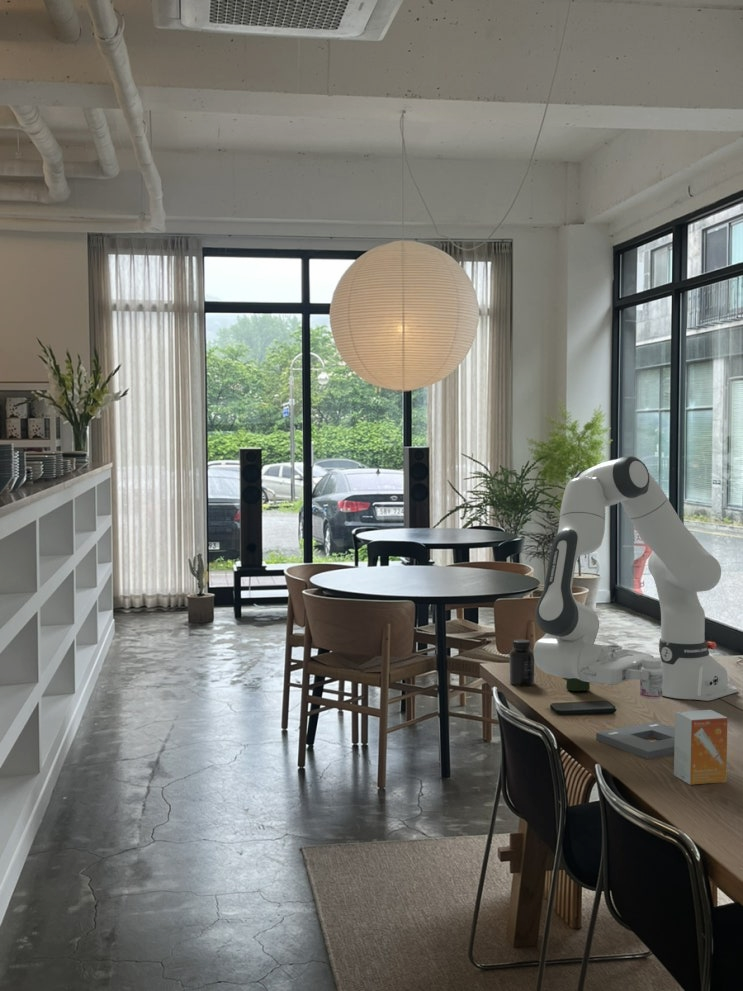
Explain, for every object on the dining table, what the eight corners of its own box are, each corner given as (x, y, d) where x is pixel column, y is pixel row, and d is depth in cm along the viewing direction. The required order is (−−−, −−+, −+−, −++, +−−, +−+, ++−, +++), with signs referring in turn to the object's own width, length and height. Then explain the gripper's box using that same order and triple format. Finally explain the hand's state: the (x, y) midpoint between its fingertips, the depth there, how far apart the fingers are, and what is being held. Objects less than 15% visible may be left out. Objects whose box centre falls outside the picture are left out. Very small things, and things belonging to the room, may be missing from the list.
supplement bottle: (533, 680, 277) (533, 638, 277) (535, 686, 271) (535, 643, 270) (509, 680, 278) (509, 638, 277) (510, 686, 271) (510, 643, 271)
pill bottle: (636, 694, 221) (637, 657, 221) (657, 693, 221) (658, 656, 221) (644, 699, 216) (645, 661, 216) (665, 699, 217) (666, 661, 216)
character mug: (563, 685, 272) (564, 638, 271) (590, 686, 271) (590, 639, 270) (565, 695, 261) (565, 646, 261) (592, 696, 260) (593, 647, 259)
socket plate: (654, 728, 231) (654, 721, 231) (708, 746, 217) (708, 738, 217) (596, 739, 222) (596, 732, 222) (648, 759, 208) (648, 751, 208)
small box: (690, 786, 192) (691, 719, 191) (673, 775, 198) (673, 711, 197) (727, 782, 194) (728, 717, 193) (709, 772, 200) (710, 708, 199)
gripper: (576, 658, 219) (634, 667, 210) (619, 644, 234) (675, 652, 225) (575, 686, 219) (633, 696, 210) (618, 670, 235) (674, 679, 226)
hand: (655, 673), depth 218 cm, fingers closed on pill bottle, 5 cm apart
